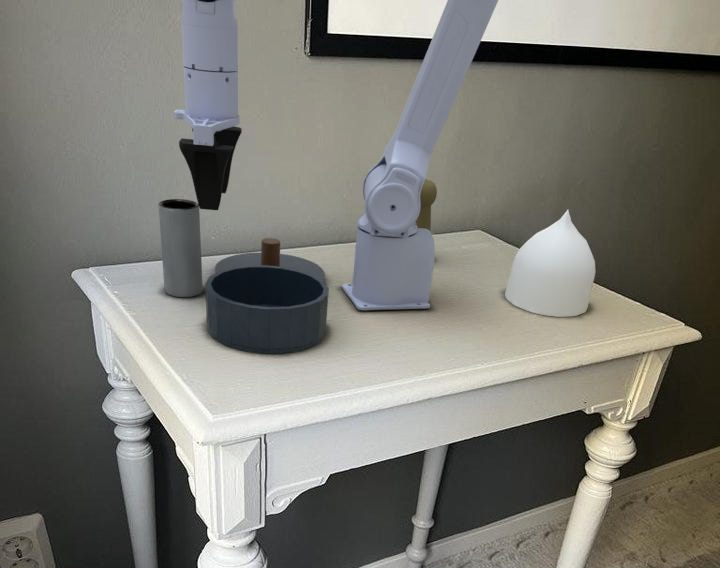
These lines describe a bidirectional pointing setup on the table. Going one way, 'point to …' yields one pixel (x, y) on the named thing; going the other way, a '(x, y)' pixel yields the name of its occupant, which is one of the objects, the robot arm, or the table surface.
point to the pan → (266, 309)
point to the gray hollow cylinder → (181, 247)
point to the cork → (426, 204)
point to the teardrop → (553, 272)
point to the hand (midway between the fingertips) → (213, 200)
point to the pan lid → (271, 259)
